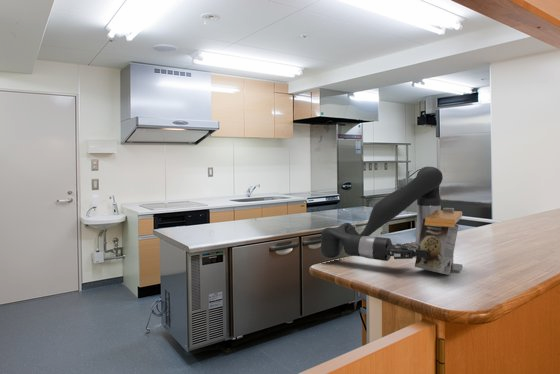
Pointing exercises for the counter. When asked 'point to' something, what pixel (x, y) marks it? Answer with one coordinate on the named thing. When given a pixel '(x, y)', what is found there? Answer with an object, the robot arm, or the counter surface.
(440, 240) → the coffee box
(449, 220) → the grey orange pedestal
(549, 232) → the counter surface
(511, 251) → the counter surface
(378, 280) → the counter surface
